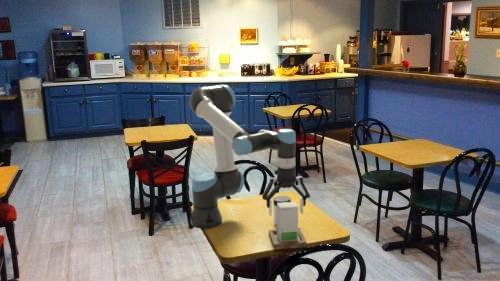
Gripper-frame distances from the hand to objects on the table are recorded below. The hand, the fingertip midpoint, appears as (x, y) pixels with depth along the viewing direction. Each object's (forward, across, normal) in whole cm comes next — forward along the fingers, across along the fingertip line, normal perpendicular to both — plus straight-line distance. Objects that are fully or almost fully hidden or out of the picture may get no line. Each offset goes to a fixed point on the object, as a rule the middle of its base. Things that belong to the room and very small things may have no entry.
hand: (286, 213), depth 200 cm
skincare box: (+11, +1, -1) cm, 11 cm away
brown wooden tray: (+12, 0, -1) cm, 12 cm away
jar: (+13, +2, +19) cm, 23 cm away
